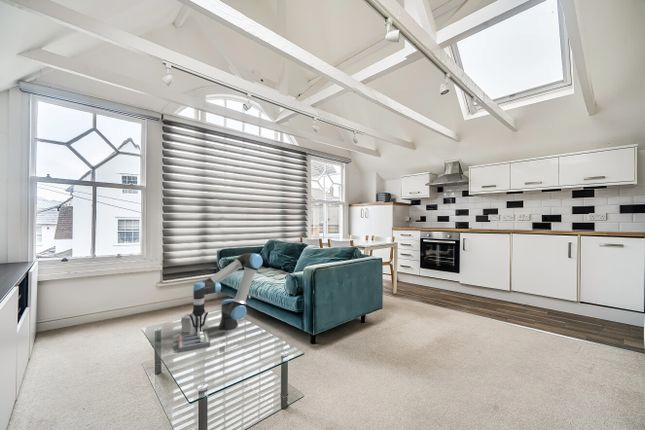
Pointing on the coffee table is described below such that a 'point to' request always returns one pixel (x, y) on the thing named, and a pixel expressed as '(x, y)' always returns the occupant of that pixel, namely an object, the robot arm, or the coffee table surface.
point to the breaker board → (192, 342)
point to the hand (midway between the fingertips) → (198, 335)
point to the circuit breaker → (188, 325)
